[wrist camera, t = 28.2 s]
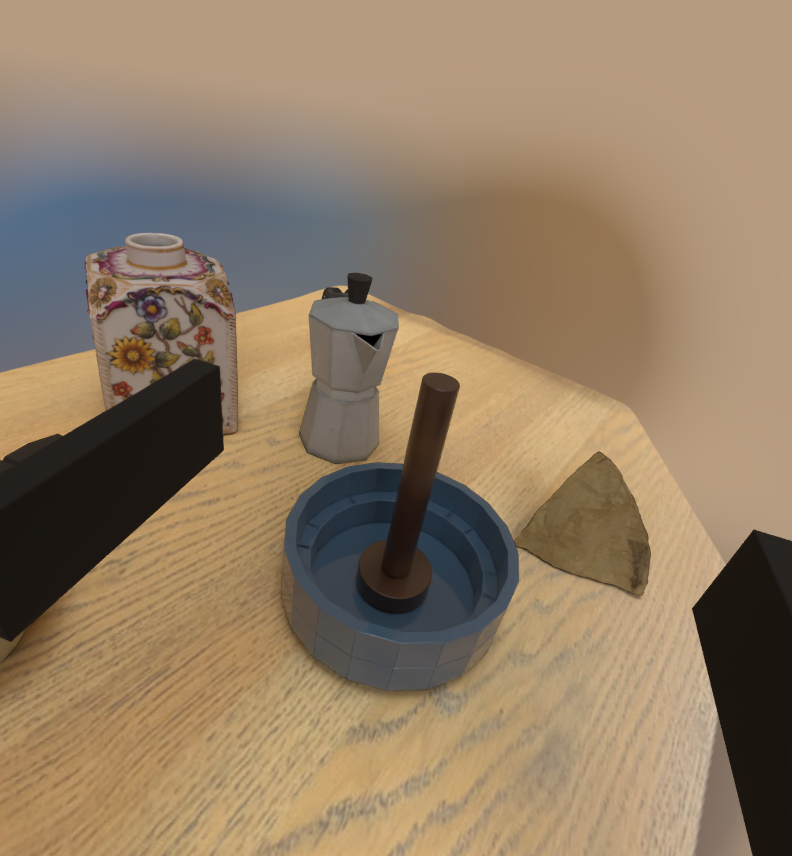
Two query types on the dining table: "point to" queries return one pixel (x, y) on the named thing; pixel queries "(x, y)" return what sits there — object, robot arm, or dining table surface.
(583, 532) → the rock
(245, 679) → the dining table surface
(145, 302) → the decorative jar
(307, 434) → the coffee maker
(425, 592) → the upright rod on disc
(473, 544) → the bowl
